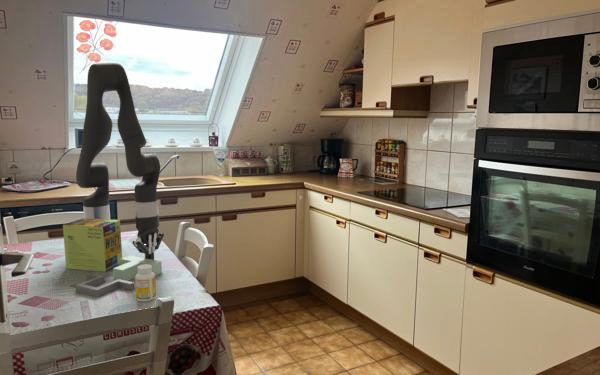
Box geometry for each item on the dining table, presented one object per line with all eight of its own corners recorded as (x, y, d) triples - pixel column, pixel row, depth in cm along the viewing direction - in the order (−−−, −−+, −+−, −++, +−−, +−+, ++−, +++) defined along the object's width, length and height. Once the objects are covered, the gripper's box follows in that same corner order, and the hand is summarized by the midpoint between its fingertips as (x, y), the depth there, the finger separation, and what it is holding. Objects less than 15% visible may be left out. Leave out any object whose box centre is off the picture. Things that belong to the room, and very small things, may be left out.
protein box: (106, 272, 162) (103, 226, 160) (65, 269, 165) (61, 224, 163) (123, 262, 172) (120, 219, 170) (84, 259, 175) (81, 217, 173)
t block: (130, 266, 167) (129, 255, 166) (161, 272, 161) (161, 261, 160) (102, 277, 156) (101, 266, 156) (135, 284, 150) (134, 272, 150)
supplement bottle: (143, 303, 136) (141, 270, 135) (132, 298, 140) (130, 266, 138) (159, 297, 140) (158, 266, 139) (149, 293, 144) (147, 262, 142)
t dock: (64, 288, 147) (64, 282, 147) (90, 278, 156) (90, 272, 155) (109, 299, 139) (109, 293, 139) (134, 288, 147) (134, 282, 147)
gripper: (152, 209, 170) (155, 256, 173) (123, 217, 158) (127, 268, 161) (169, 211, 167) (171, 259, 170) (141, 219, 155) (144, 271, 158)
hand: (150, 263), depth 165 cm, fingers closed
